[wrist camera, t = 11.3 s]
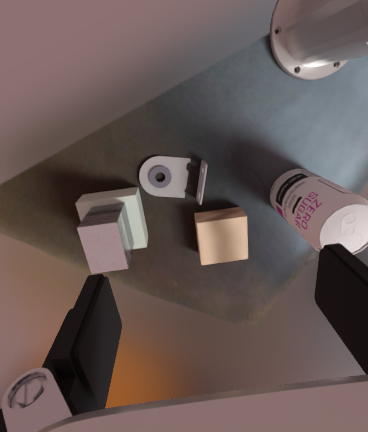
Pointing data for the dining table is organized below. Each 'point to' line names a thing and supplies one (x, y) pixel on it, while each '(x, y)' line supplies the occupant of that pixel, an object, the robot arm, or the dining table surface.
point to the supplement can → (321, 210)
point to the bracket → (170, 177)
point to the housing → (107, 238)
